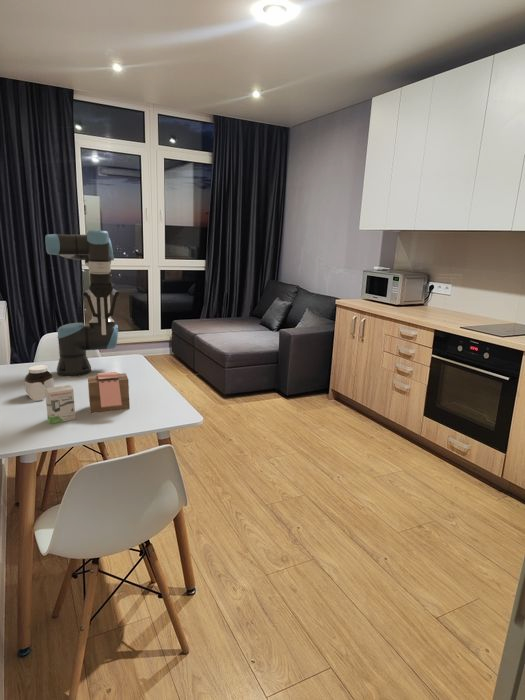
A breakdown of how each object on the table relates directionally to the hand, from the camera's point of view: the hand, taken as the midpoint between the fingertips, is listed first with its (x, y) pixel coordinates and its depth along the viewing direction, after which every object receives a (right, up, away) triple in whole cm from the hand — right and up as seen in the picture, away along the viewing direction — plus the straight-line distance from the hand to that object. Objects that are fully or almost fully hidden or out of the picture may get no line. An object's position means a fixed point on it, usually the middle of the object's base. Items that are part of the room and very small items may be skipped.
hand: (103, 334), depth 170 cm
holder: (+3, -28, -1) cm, 29 cm away
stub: (+6, -22, -10) cm, 25 cm away
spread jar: (-29, -25, +8) cm, 39 cm away
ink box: (-10, -31, -13) cm, 36 cm away
